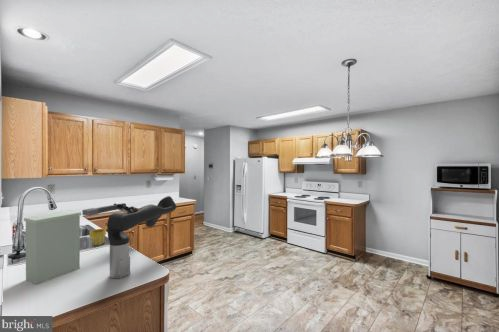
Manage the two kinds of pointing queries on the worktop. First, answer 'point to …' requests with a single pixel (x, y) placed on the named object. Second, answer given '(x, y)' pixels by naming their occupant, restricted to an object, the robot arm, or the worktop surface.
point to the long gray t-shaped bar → (100, 209)
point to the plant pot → (98, 236)
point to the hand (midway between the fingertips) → (115, 205)
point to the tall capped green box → (52, 245)
